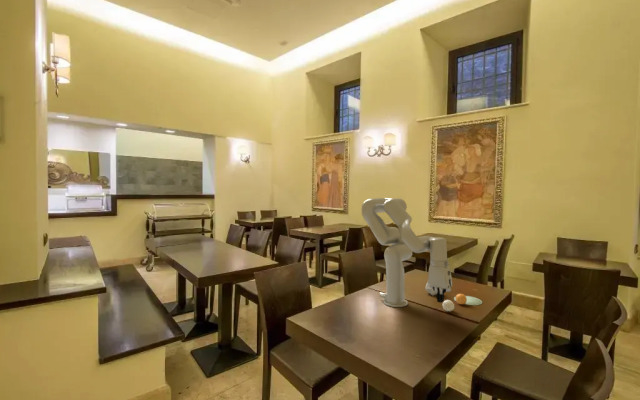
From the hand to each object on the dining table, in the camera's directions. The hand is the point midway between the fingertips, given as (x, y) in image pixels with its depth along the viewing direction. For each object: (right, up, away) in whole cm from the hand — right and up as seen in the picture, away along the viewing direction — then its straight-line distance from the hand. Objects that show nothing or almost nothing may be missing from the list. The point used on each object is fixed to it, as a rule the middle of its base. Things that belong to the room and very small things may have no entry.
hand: (440, 301), depth 144 cm
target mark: (+24, -7, +21) cm, 32 cm away
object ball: (+17, -4, +16) cm, 24 cm away
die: (+9, -7, +33) cm, 34 cm away
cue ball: (+7, -4, +7) cm, 11 cm away
